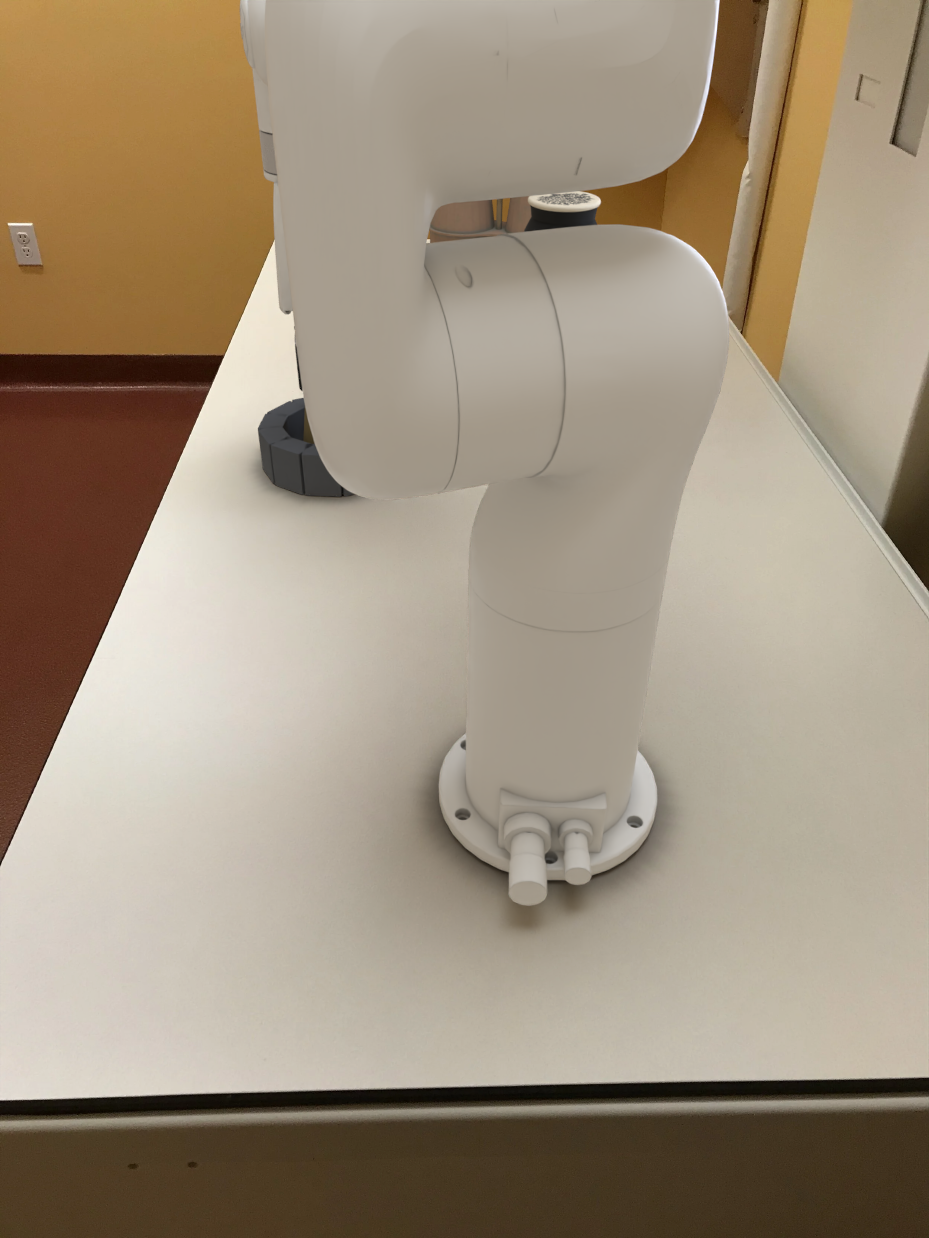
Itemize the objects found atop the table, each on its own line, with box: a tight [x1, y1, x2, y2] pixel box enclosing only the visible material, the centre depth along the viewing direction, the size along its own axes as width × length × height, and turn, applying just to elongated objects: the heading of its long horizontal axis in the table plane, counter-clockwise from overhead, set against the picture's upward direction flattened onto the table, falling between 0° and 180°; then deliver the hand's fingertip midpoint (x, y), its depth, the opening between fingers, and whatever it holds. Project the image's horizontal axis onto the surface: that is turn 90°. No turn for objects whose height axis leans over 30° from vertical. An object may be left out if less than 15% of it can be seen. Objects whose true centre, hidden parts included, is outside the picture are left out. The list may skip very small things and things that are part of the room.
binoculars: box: [429, 196, 532, 243], centre depth 129 cm, size 21×10×25 cm, turn 77°
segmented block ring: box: [257, 397, 355, 498], centre depth 88 cm, size 13×13×4 cm
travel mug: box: [524, 191, 602, 232], centre depth 104 cm, size 8×8×18 cm
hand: (329, 369), depth 84 cm, fingers open, 9 cm apart
